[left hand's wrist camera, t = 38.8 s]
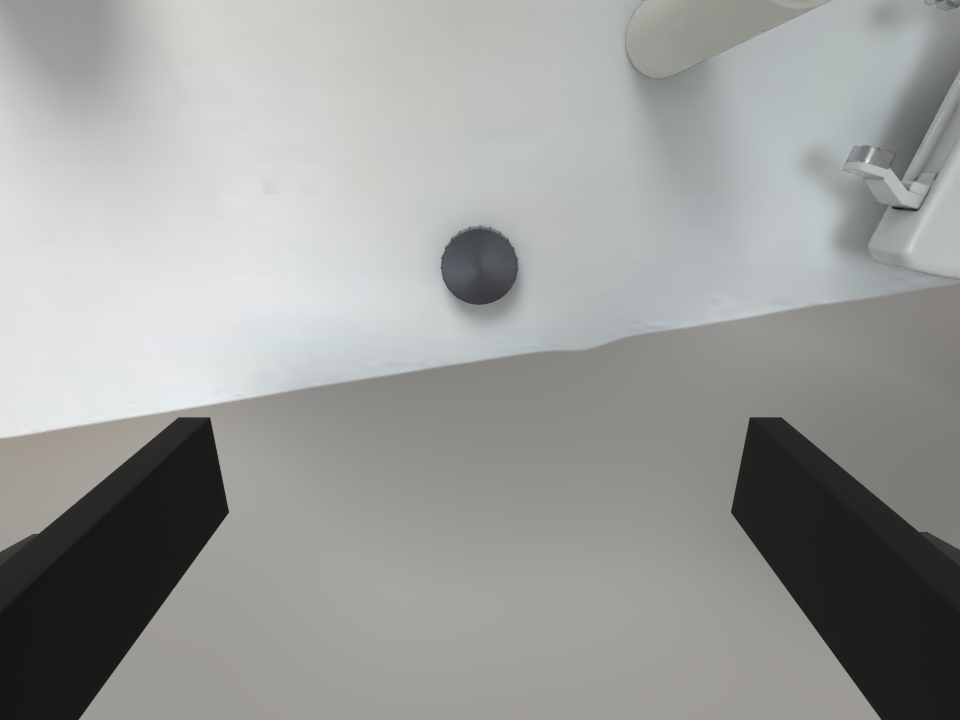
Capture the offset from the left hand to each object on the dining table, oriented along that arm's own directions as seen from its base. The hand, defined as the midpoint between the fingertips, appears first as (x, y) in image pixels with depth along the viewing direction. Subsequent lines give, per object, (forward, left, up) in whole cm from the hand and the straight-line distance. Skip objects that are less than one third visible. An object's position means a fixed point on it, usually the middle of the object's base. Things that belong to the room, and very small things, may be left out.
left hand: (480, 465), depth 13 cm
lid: (0, 0, -28) cm, 29 cm away
